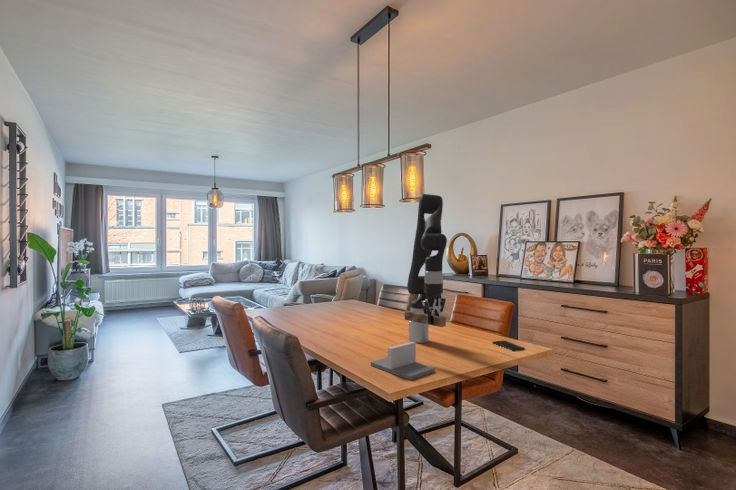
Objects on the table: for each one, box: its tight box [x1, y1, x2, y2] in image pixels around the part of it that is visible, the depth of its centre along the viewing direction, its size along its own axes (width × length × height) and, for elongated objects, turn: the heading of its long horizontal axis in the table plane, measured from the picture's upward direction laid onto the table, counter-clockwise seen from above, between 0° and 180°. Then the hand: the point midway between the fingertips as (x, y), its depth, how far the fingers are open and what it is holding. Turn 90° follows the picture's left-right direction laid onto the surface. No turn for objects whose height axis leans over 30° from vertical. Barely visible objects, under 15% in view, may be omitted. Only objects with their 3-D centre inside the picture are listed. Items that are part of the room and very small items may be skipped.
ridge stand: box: [370, 341, 436, 381], centre depth 156 cm, size 22×14×10 cm, turn 41°
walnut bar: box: [404, 310, 447, 328], centre depth 165 cm, size 20×3×4 cm, turn 42°
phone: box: [492, 340, 526, 352], centre depth 190 cm, size 8×1×15 cm
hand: (433, 323), depth 161 cm, fingers closed on walnut bar, 3 cm apart
